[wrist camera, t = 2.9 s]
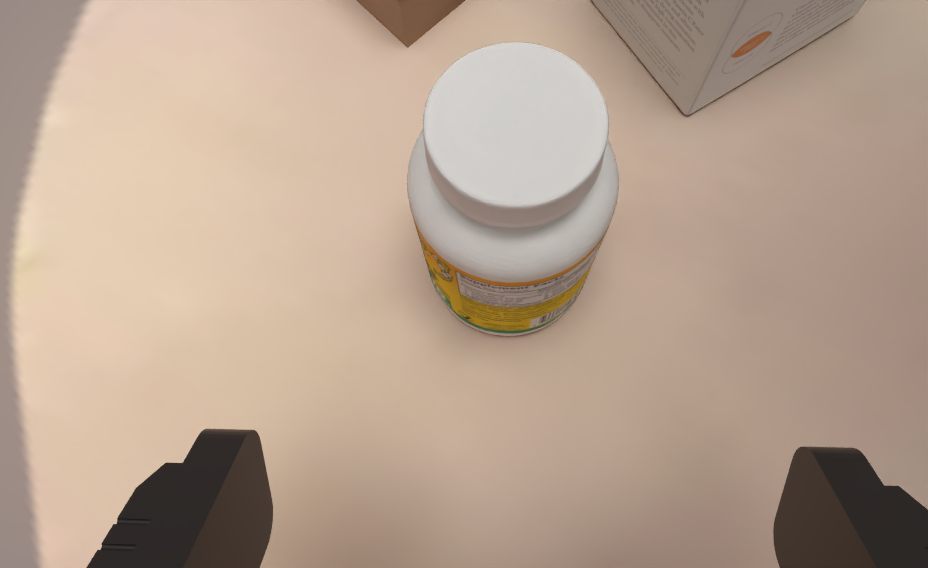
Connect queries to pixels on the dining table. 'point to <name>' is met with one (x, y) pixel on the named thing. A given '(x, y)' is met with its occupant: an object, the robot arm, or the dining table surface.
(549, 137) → the supplement bottle
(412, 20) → the walnut cube
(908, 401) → the dining table surface
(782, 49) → the small box
